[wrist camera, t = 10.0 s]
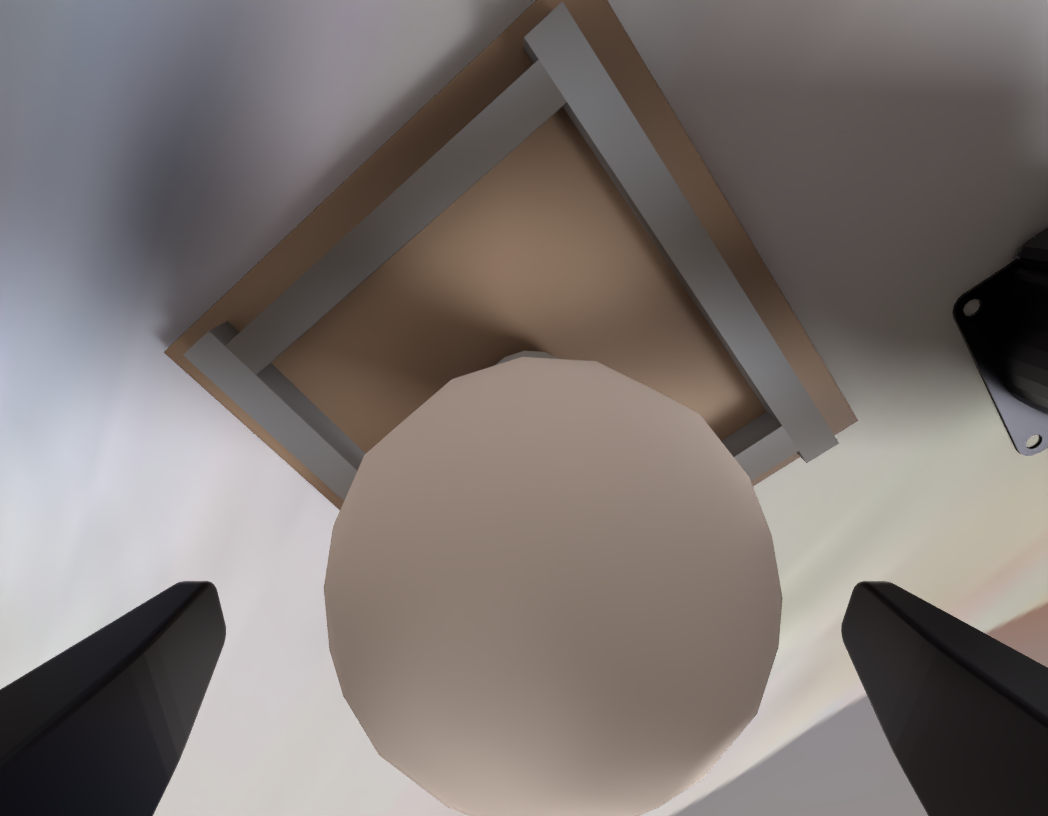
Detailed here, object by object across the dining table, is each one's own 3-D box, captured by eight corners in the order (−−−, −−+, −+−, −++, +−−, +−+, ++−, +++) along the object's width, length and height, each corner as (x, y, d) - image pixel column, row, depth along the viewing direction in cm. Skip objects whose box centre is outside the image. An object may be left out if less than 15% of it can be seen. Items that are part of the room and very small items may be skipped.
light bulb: (366, 408, 16) (114, 837, 6) (508, 216, 14) (511, 339, 4) (546, 524, 17) (601, 1010, 7) (693, 368, 15) (1044, 737, 5)
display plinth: (846, 412, 17) (879, 435, 15) (494, 634, 20) (493, 671, 18) (578, -33, 12) (587, -61, 11) (175, 345, 15) (141, 364, 14)
